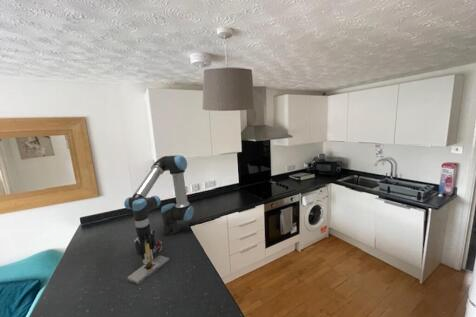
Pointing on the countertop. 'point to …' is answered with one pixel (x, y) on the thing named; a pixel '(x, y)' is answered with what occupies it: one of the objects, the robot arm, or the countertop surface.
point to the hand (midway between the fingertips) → (148, 261)
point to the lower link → (159, 261)
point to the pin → (148, 255)
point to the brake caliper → (157, 246)
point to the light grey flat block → (141, 273)
